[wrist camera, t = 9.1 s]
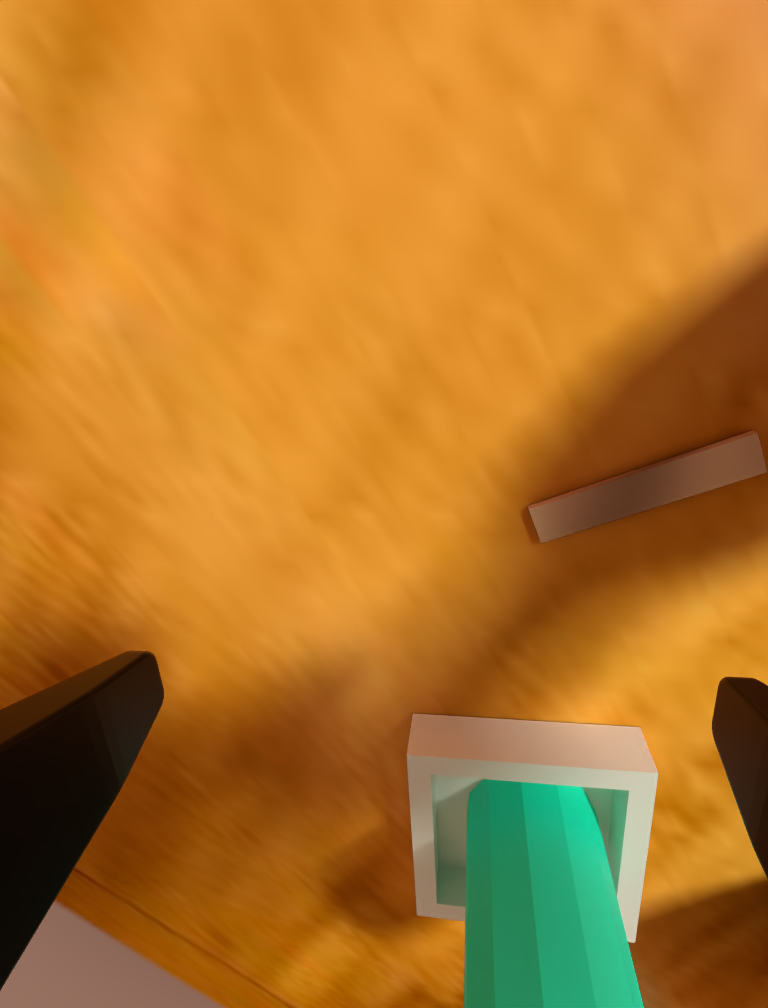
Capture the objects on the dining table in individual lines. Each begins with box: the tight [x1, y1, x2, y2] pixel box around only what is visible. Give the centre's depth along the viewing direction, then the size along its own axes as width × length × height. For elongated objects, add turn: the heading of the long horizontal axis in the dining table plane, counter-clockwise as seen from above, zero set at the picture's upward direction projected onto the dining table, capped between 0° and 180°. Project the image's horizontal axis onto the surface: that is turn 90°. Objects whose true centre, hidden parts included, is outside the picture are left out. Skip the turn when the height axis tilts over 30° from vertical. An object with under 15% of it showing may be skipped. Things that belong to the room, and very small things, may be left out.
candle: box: [464, 779, 644, 1008], centre depth 19 cm, size 6×6×12 cm
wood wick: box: [528, 431, 767, 543], centre depth 19 cm, size 8×2×1 cm, turn 114°
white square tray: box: [407, 713, 658, 943], centre depth 24 cm, size 10×11×3 cm
